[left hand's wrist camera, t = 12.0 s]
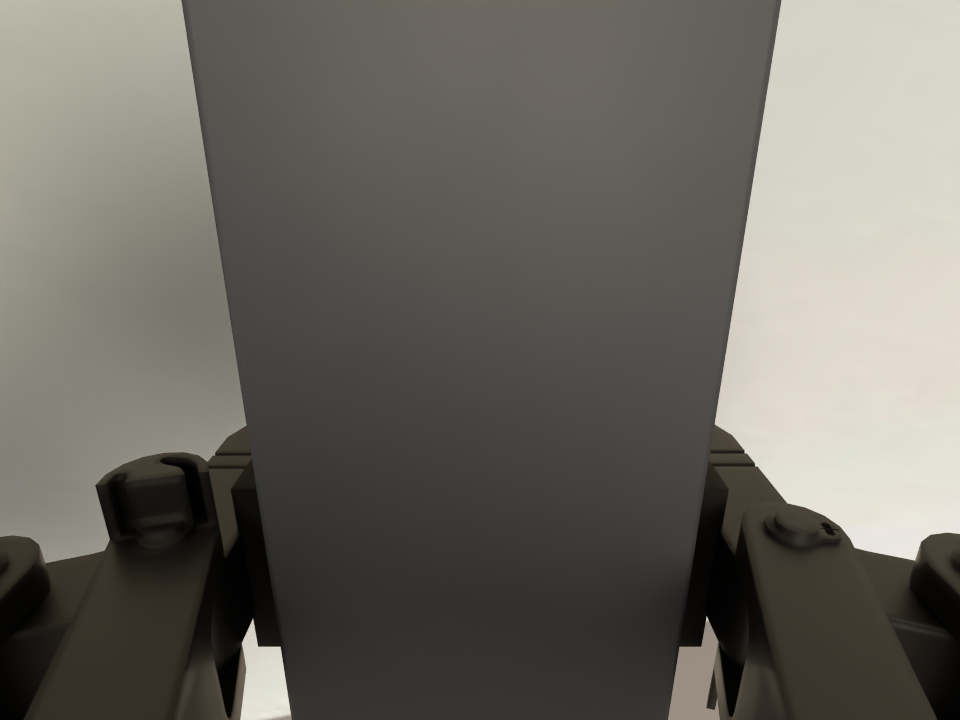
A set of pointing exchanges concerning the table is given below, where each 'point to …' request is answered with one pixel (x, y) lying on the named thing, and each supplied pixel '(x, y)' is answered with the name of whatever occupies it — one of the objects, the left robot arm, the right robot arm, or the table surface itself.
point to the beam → (480, 332)
